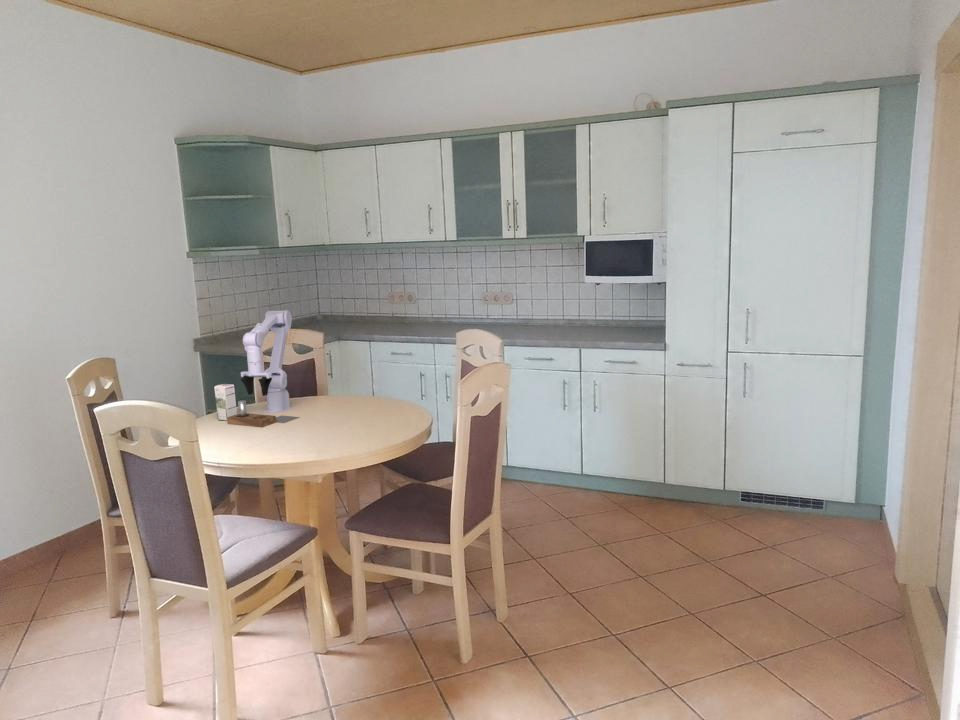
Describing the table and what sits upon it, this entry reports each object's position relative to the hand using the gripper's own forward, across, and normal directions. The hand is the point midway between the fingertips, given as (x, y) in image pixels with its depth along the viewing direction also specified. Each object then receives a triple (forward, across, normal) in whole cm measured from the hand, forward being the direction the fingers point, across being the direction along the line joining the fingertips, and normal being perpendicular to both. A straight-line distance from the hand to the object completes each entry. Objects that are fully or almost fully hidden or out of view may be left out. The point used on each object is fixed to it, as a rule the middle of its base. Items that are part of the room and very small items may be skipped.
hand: (257, 394), depth 286 cm
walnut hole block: (+10, +2, -6) cm, 12 cm away
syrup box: (+11, -14, -4) cm, 18 cm away
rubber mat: (+10, +10, +2) cm, 15 cm away
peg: (+10, -3, -6) cm, 13 cm away
